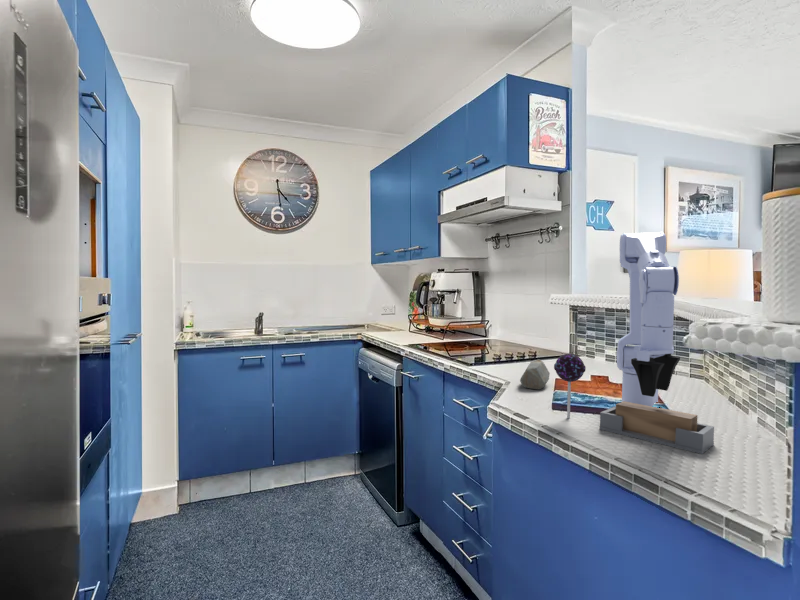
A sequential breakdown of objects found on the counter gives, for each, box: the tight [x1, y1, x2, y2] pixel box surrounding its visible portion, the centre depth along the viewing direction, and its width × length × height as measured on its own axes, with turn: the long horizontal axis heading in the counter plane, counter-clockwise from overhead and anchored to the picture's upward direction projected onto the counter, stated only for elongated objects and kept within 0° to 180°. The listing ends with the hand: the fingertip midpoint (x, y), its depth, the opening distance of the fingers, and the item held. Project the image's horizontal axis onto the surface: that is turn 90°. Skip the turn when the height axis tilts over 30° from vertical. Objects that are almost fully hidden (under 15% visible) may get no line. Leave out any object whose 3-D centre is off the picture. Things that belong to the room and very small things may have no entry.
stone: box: [519, 358, 550, 390], centre depth 140 cm, size 12×8×8 cm, turn 154°
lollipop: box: [553, 353, 587, 419], centre depth 106 cm, size 7×7×15 cm
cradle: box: [599, 406, 715, 455], centre depth 94 cm, size 8×19×4 cm, turn 42°
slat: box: [615, 401, 698, 441], centre depth 94 cm, size 4×14×5 cm, turn 42°
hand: (655, 392), depth 93 cm, fingers open, 7 cm apart
